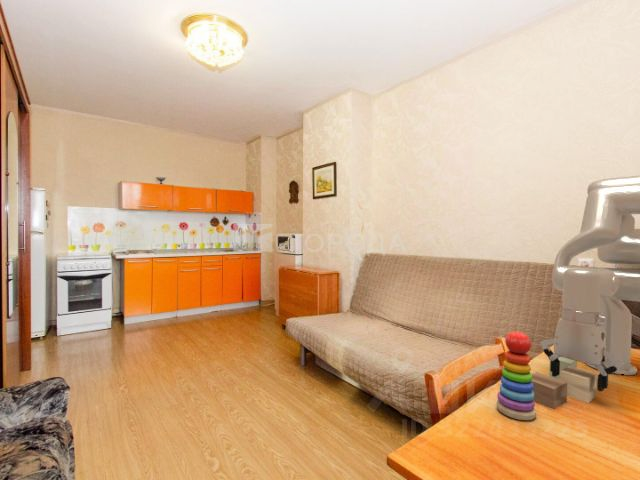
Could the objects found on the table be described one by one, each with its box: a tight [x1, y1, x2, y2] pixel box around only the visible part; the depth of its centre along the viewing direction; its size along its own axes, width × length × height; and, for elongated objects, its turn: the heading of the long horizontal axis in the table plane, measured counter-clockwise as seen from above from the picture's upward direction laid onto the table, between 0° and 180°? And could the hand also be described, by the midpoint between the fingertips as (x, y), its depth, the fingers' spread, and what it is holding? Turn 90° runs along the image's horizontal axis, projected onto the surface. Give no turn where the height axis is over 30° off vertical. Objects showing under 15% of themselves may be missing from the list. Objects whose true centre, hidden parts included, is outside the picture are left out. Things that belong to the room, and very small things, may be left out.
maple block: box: [560, 366, 598, 404], centre depth 85 cm, size 6×6×6 cm
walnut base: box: [531, 371, 568, 410], centre depth 82 cm, size 7×7×5 cm
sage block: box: [548, 357, 578, 380], centre depth 94 cm, size 5×5×6 cm
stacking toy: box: [496, 331, 537, 421], centre depth 75 cm, size 8×8×19 cm
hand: (577, 382), depth 84 cm, fingers open, 9 cm apart
